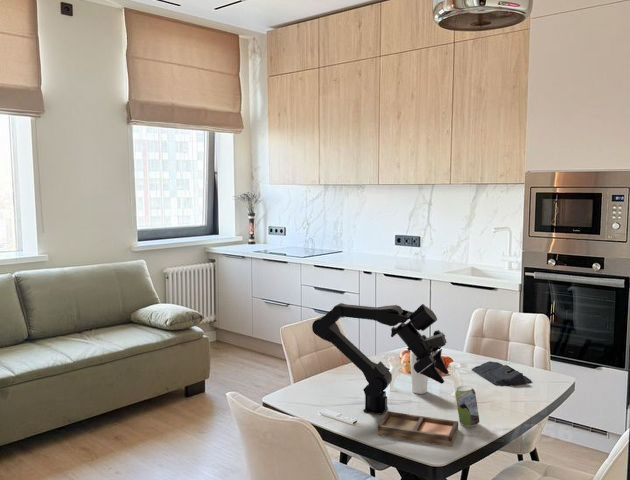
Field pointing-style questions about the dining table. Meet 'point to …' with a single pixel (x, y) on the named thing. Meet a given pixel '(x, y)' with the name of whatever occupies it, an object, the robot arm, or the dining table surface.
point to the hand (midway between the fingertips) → (445, 378)
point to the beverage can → (467, 406)
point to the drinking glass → (417, 378)
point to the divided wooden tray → (418, 428)
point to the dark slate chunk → (501, 374)
